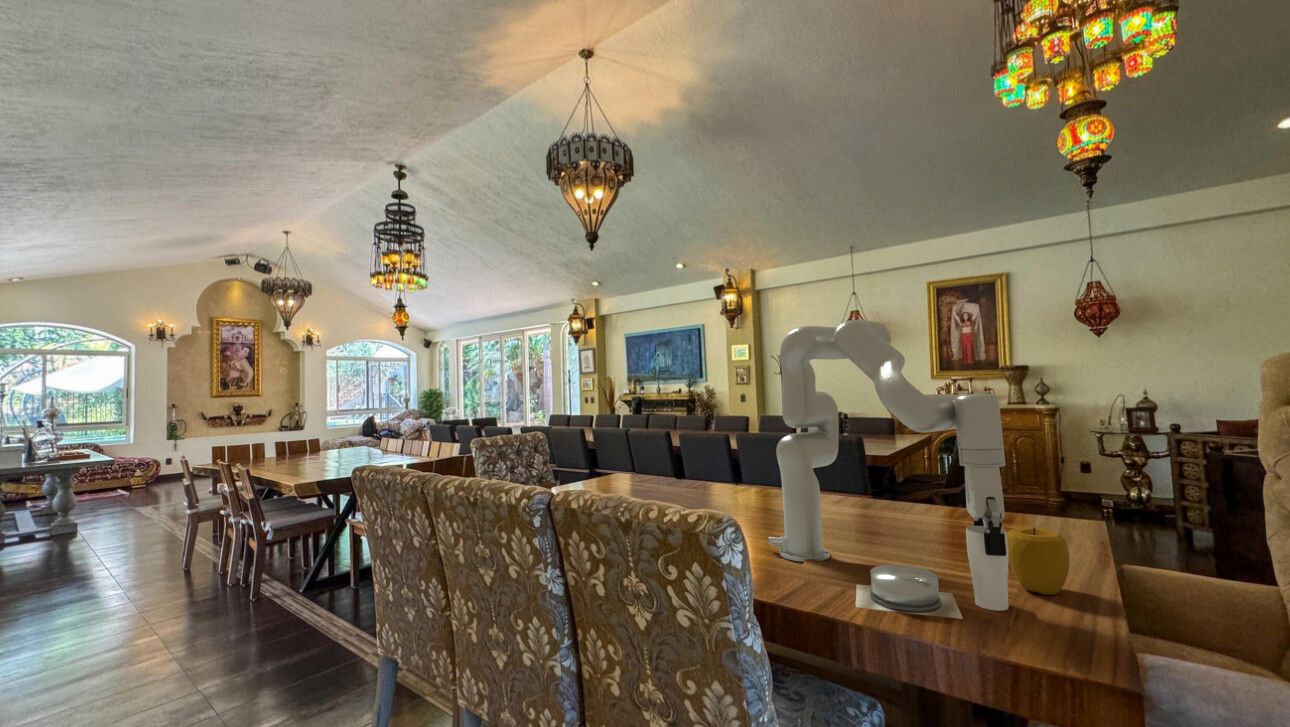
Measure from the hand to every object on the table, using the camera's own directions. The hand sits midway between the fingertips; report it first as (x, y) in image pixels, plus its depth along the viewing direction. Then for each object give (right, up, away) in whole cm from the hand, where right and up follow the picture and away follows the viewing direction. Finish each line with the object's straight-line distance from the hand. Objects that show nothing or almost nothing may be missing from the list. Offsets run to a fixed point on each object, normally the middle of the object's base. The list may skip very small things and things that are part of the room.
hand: (990, 548), depth 102 cm
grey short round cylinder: (-14, -12, +4) cm, 19 cm away
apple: (+16, -12, +9) cm, 21 cm away
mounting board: (-14, -13, +4) cm, 19 cm away
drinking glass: (0, -12, 0) cm, 12 cm away
